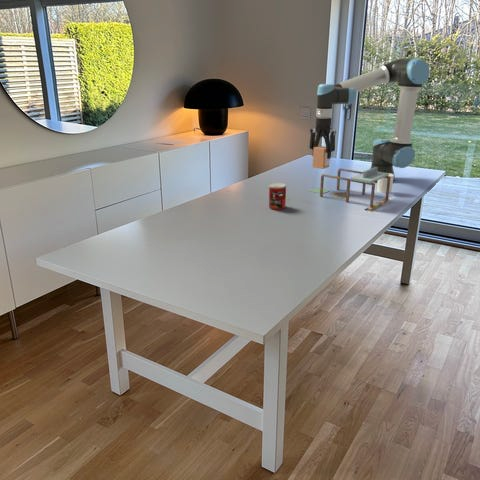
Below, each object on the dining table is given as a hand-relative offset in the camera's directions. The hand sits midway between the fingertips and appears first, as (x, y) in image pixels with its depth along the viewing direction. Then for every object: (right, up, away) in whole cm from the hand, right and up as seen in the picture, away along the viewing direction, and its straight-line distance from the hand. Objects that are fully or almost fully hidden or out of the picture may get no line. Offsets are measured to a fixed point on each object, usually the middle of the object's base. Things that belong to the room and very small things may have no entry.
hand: (321, 164), depth 237 cm
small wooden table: (+11, -18, -3) cm, 21 cm away
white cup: (+33, -15, +5) cm, 37 cm away
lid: (+20, -9, -16) cm, 27 cm away
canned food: (-23, -23, -15) cm, 36 cm away
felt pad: (0, -13, +5) cm, 14 cm away
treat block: (0, -1, +1) cm, 2 cm away
